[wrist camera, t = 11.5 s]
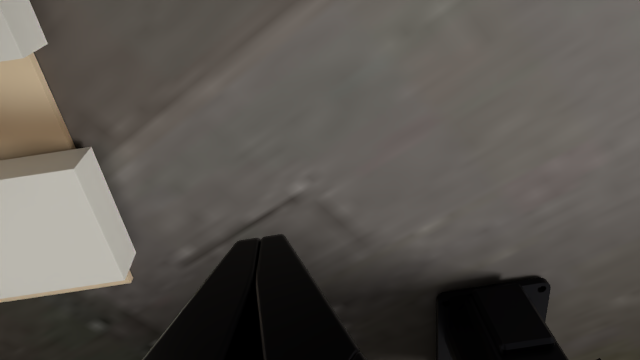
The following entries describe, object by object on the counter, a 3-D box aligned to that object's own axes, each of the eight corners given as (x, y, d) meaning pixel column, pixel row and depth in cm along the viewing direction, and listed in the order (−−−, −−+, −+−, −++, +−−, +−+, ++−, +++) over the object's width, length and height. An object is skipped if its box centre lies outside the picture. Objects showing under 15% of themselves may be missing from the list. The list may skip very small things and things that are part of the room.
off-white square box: (124, 280, 22) (-24, 302, 22) (136, 251, 24) (-1, 271, 24) (74, 168, 19) (-99, 194, 19) (92, 145, 21) (-65, 168, 21)
